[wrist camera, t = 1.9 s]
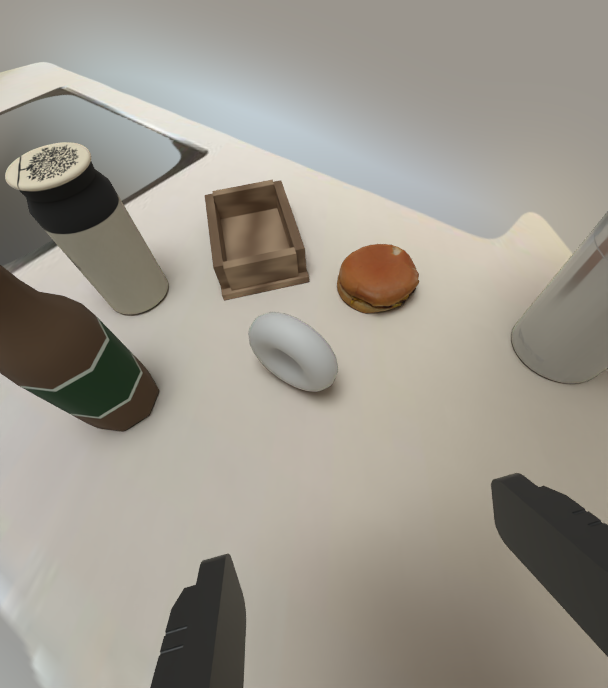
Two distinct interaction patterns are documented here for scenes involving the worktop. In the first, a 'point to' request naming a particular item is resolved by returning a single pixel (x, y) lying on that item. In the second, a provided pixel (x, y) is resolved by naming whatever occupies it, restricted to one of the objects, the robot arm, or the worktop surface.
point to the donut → (293, 351)
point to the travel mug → (89, 224)
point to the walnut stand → (254, 239)
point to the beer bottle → (70, 358)
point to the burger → (377, 278)
